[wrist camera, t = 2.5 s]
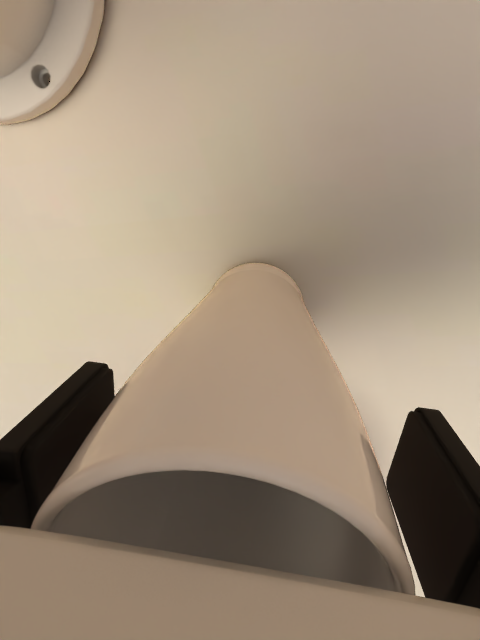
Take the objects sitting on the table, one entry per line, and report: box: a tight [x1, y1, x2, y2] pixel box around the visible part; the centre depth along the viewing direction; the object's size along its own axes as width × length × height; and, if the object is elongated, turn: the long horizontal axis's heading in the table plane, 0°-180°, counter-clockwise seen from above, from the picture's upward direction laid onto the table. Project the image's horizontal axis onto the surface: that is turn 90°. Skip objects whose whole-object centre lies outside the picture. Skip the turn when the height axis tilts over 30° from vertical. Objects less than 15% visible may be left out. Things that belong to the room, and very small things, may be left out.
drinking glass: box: [30, 263, 415, 595], centre depth 13 cm, size 7×7×15 cm
